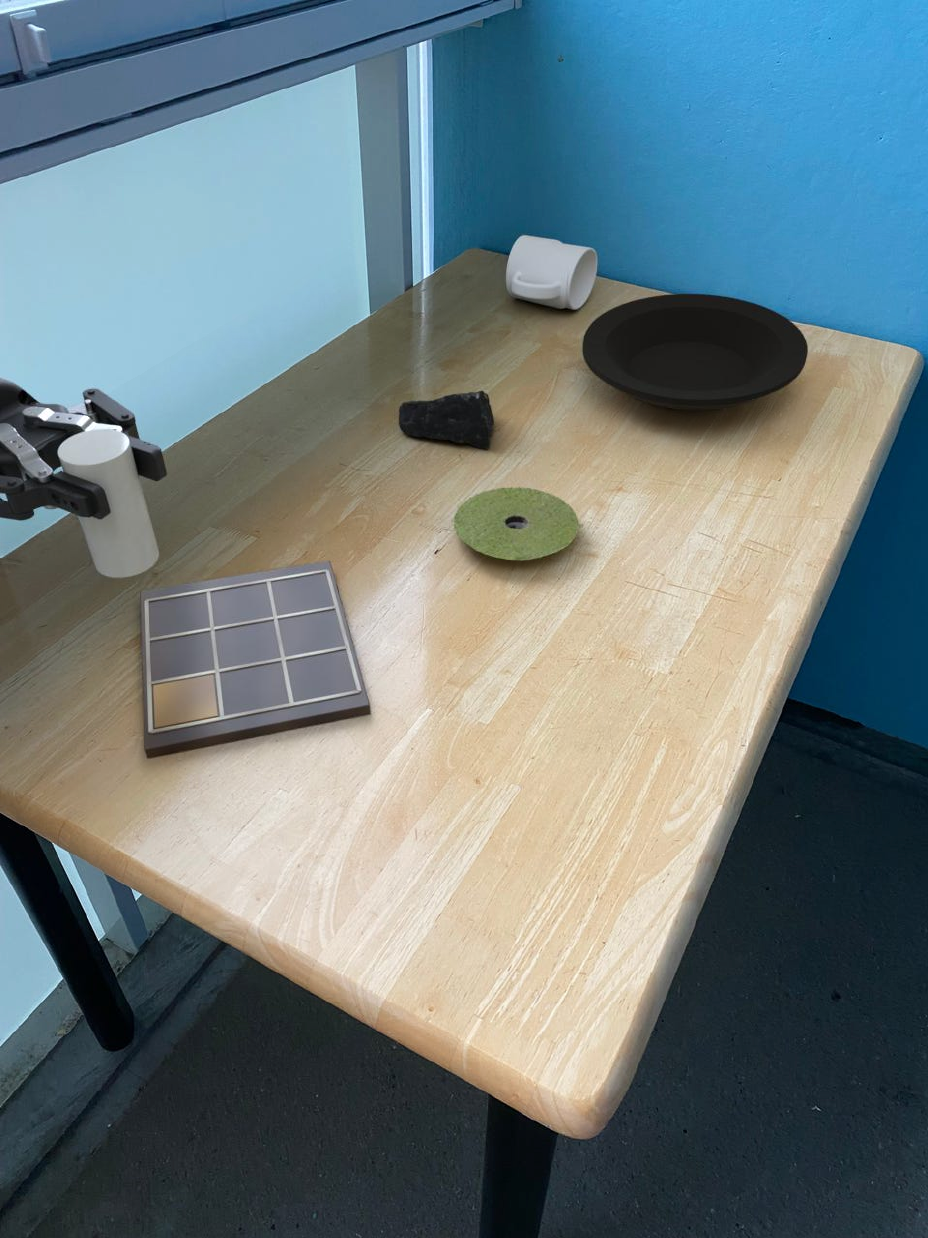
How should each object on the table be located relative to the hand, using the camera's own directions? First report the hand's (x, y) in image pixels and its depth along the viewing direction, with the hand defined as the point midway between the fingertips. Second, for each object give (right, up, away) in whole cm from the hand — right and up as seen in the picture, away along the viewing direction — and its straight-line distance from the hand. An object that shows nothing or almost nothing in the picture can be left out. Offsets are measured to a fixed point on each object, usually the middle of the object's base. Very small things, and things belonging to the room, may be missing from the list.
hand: (132, 484), depth 59 cm
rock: (+20, +11, +40) cm, 46 cm away
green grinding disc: (+26, -1, +26) cm, 37 cm away
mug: (+32, +33, +65) cm, 80 cm away
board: (+4, -11, +14) cm, 19 cm away
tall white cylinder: (-2, -4, +6) cm, 8 cm away
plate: (+47, +18, +48) cm, 69 cm away
